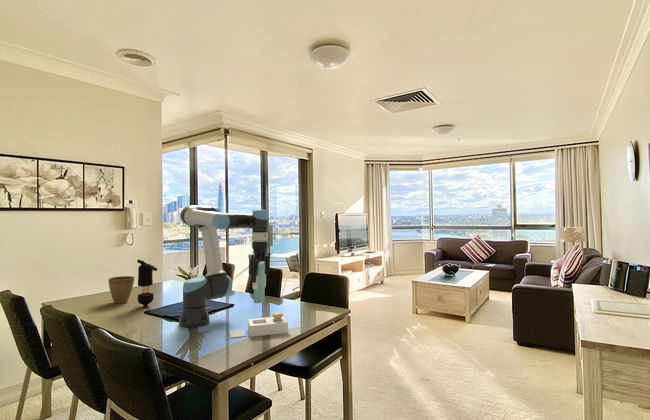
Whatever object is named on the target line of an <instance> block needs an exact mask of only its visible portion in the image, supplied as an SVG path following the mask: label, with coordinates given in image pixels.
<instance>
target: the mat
mask: <svg viewBox="0 0 650 420" xmlns="http://www.w3.org/2000/svg"><path fill="white" fill-rule="evenodd" d="M245 331H246V330H245V329H237V330H236V329H235V330H229V337H230V338H229V339H236V338H245V337H246V332H245Z"/></svg>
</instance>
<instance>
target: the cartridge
mask: <svg viewBox="0 0 650 420" xmlns="http://www.w3.org/2000/svg"><path fill="white" fill-rule="evenodd" d="M257 276H258V289H257V290H256V289H253V303H254V304H262V303H263V304H264V303H265V296H266V295H265V294H266V293H265V291H266V290H265V288H266V287H265V261H260V262H259V265H258V271H257Z"/></svg>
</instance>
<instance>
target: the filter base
mask: <svg viewBox="0 0 650 420" xmlns="http://www.w3.org/2000/svg"><path fill="white" fill-rule="evenodd" d="M288 323H289V322H288V321H287V319H286V318H285V316H283V317H281V321H275V322H274V318H273V316H270V317H269V316H268V317H260V318H259V317H257V318H248V319H247V332H248V333H249V336H250V337H251V338H252V337H259V336H260V337H261V336H269V335H279V334H288V332H289V328H288V327H289V326H288V325H289V324H288Z"/></svg>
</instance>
